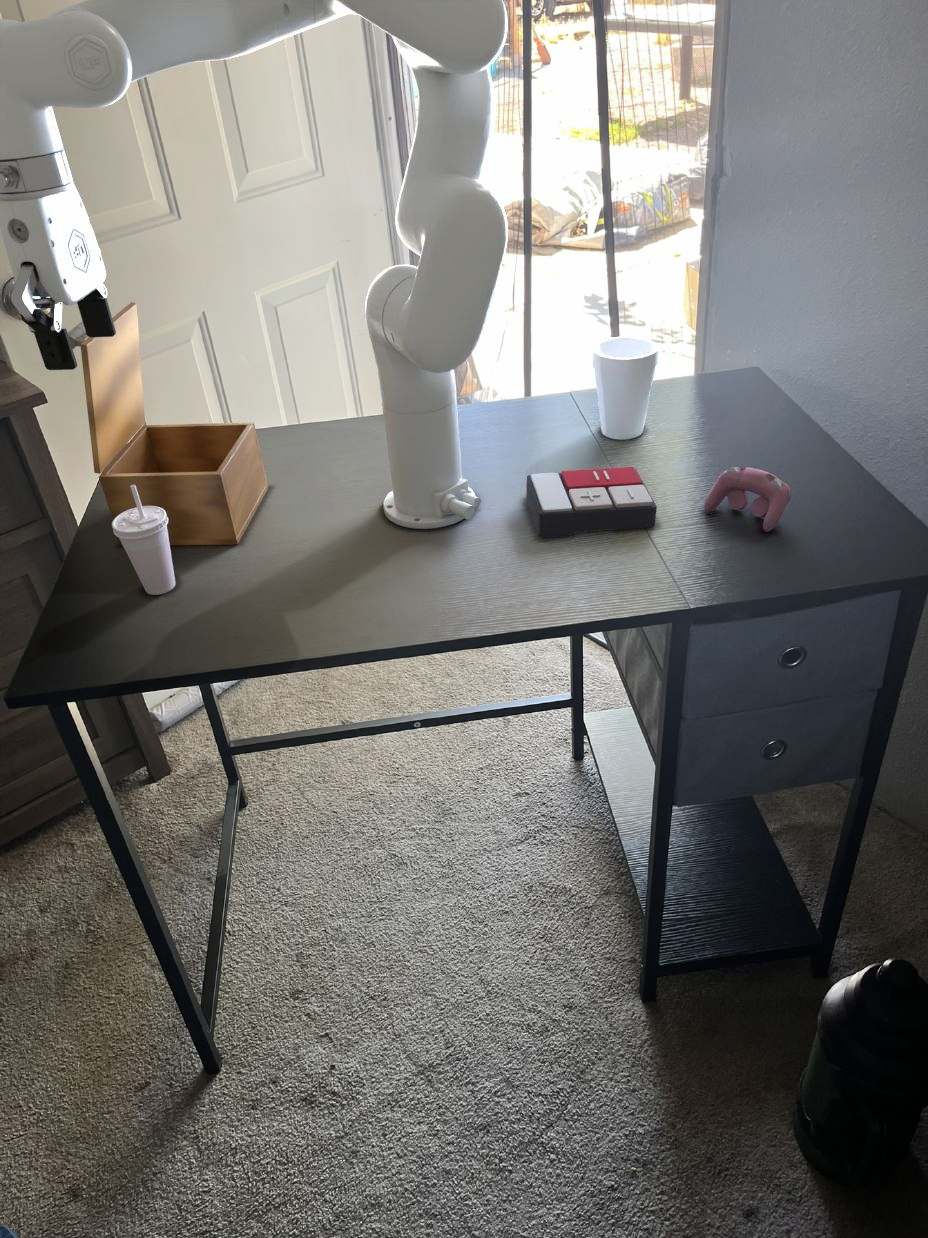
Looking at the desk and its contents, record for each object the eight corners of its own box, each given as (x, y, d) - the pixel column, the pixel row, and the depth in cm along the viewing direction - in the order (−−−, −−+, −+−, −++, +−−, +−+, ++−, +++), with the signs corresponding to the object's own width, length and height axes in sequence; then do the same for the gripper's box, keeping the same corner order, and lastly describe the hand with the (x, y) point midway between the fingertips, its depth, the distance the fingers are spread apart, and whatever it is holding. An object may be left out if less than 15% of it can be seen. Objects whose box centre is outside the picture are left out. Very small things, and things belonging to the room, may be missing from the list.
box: (268, 488, 133) (254, 422, 127) (237, 544, 121) (220, 474, 115) (162, 490, 135) (143, 425, 129) (121, 545, 123) (98, 476, 117)
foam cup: (664, 426, 141) (670, 343, 133) (631, 449, 136) (635, 363, 128) (613, 413, 146) (615, 332, 139) (579, 434, 141) (579, 351, 133)
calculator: (658, 501, 115) (540, 509, 114) (654, 531, 118) (539, 539, 117) (636, 462, 124) (526, 469, 123) (633, 491, 127) (525, 498, 125)
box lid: (137, 302, 119) (95, 295, 119) (86, 345, 106) (40, 337, 106) (145, 422, 129) (107, 416, 129) (100, 474, 116) (58, 466, 116)
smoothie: (172, 602, 111) (140, 500, 103) (124, 599, 112) (89, 498, 104) (195, 573, 116) (166, 473, 108) (148, 570, 117) (117, 471, 109)
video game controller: (782, 534, 117) (801, 480, 115) (768, 533, 113) (787, 478, 111) (713, 511, 122) (730, 460, 121) (698, 510, 119) (715, 457, 117)
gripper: (21, 192, 80) (81, 382, 90) (103, 156, 94) (147, 324, 104) (-59, 196, 81) (9, 383, 91) (34, 159, 94) (84, 325, 104)
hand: (83, 351), depth 97 cm, fingers open, 9 cm apart
